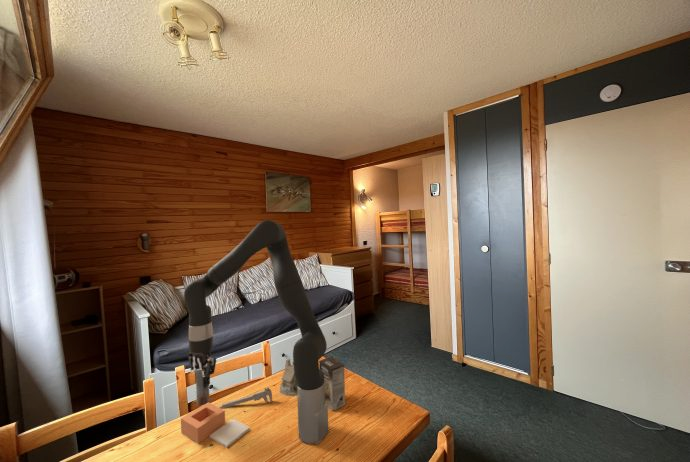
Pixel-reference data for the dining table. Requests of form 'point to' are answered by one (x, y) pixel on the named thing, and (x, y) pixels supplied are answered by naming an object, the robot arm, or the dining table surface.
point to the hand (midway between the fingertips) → (202, 384)
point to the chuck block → (202, 422)
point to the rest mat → (229, 433)
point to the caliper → (250, 398)
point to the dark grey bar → (201, 388)
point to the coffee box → (333, 382)
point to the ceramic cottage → (288, 380)
